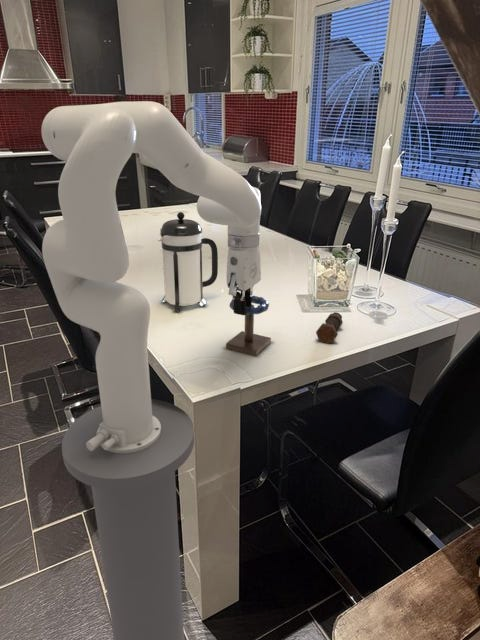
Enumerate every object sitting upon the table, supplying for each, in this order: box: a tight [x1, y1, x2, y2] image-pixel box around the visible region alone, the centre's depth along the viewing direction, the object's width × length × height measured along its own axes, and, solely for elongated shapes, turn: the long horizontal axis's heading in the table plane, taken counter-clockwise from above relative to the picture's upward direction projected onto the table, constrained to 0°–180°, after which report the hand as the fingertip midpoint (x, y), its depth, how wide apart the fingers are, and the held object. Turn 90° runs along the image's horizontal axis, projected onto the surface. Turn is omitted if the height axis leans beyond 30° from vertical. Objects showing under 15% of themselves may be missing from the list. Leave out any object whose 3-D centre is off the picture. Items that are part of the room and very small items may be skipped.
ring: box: [229, 294, 270, 316], centre depth 121 cm, size 10×10×2 cm
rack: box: [225, 304, 272, 357], centre depth 123 cm, size 9×9×12 cm
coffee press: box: [157, 211, 219, 313], centre depth 148 cm, size 17×16×30 cm
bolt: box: [315, 311, 344, 344], centre depth 133 cm, size 6×5×15 cm
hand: (242, 311), depth 118 cm, fingers closed on ring, 2 cm apart
